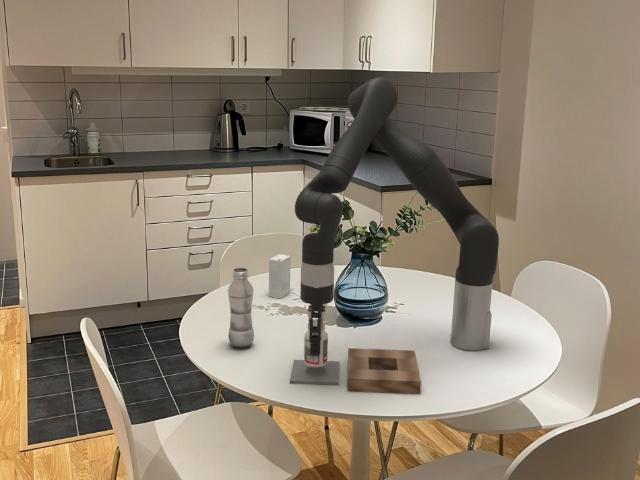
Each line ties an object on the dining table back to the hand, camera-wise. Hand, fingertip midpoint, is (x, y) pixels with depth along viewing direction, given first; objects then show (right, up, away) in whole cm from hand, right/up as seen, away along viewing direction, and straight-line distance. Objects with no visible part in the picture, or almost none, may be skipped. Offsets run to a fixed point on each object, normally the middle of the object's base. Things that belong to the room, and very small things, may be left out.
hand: (316, 349), depth 163 cm
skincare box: (-11, +8, +51) cm, 53 cm away
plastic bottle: (-19, -2, +16) cm, 25 cm away
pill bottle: (0, -4, +1) cm, 4 cm away
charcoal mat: (0, -6, +2) cm, 6 cm away
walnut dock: (+15, -6, +1) cm, 17 cm away
